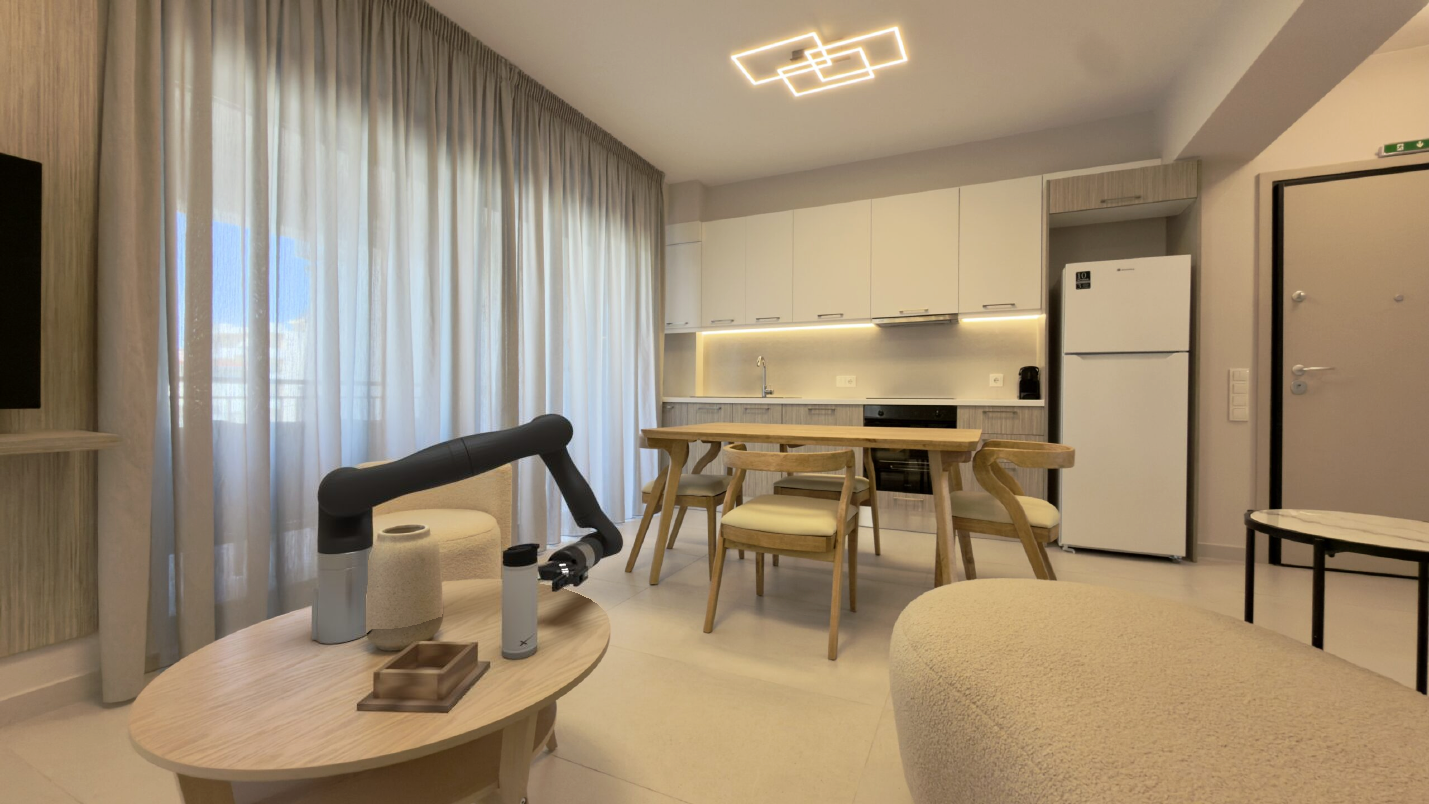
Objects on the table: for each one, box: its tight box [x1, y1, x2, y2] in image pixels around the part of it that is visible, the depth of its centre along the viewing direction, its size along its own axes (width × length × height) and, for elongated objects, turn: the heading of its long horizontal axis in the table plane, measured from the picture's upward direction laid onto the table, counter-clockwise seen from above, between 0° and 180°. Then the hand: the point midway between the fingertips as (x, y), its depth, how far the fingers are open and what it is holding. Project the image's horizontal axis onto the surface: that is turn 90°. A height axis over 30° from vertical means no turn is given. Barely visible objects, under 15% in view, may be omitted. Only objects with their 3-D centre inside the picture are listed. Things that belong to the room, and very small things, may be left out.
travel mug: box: [501, 542, 540, 660], centre depth 100 cm, size 6×7×20 cm
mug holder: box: [356, 640, 491, 713], centre depth 88 cm, size 14×14×5 cm
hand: (533, 585), depth 105 cm, fingers open, 8 cm apart
